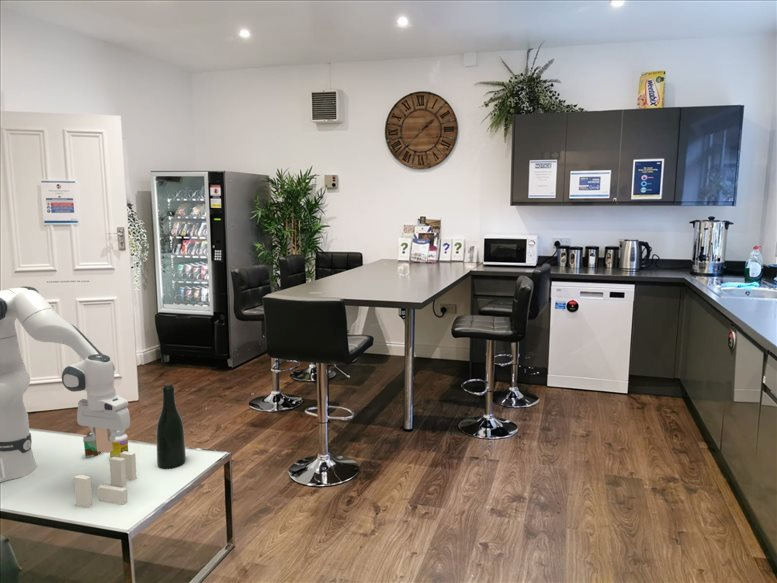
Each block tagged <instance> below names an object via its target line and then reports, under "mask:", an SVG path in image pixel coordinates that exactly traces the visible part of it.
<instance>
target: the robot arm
mask: <svg viewBox="0 0 777 583" xmlns="http://www.w3.org/2000/svg"><path fill="white" fill-rule="evenodd" d="M16 320H18V322H19V323H20V324H21V326H22V328H23V329H24V331H25V332H26V333H27V334H28V335H29V336H30V338H33V339H34V340H35V341H37V342H38V341H39V342H43V343H55V344H62V345H66V346H68V347H69V348H72V350H73V351H74V352H75V353H76V354H77V355H78V356H79V357H80V358H81V359H82V360H81V361H79V362H75V363H73V364H69V365H68V366H66V367H65V368H64V369H63V371H62V373H61V382H62V385H63V387H64V388H65V389H67V390H68V391H70V392H82V391H85V392H86V398H81V399H80V400H79V401H78V403H77V413H76V422H77V424H78V425H79V426H83V427H89V430H90V431H91V432H92V433H93V438H94V439H96V429H95V427H96V428H103V429H110V432H111V434H110V436H108V441H114V440H115V435H116V433H117V431H123V430H125V431H126V430H128V429H129V428H130V426H131V416H130V410H129V409H128V406H129V401H128V399H126V398H124V397H122V396H120V395H118V394H117V393H116V388H115V383H114V382H115V380H116V379H115V365H114V363H113V361H112V358H111V357H110V356H109V355H106V354H103V353H102V352H101V351H100V350H99V348H97V347H96V346H95V345H94V344H93V343H92V342H91V341H90V339H88V338H87V336H85V334H84V333H83V332H81V330H80V329H78V328H77V327H76V326H75V325H74V324H71V323H69V322H68V321H67V320H65V319H64V318H63V317H61V316H60V315H59V314H58V313H57V312H56V310H55V309H54V308H53V306H52V305H51V304H50V303H49V302H48V301H47V299H45V298H44V296H42V294H40V292H39V291H38V289H37V288H35V287H33V286H19V287H10V288H9V287H8V288H4V289H2V290H0V483H2V482H5V481H11V480H16V479H20V478H22V477H26V476H28V475H30V474H32V473H34V472H35V471H36V470H37V467H38V466H37V464H36V461H35V458H34V454H33V450H32V433H31V432H30V423H29V421H30V420H29V413H28V412H27V410H26V407H25V403H24V394H25V393H26V392H27V390H28V389H29V386H30V382H31V377H30V374H29V373H28V370H27V368H26V366H25V363H24V360H23V357H22V355H21V350H20V345H19V341H18V333H17V328H16V325H15V323H16Z"/></svg>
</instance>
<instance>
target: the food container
mask: <svg viewBox="0 0 777 583" xmlns="http://www.w3.org/2000/svg"><path fill="white" fill-rule="evenodd" d="M82 440H83V441H82V442H83V445H84V453H85V454H84V456H85V459H90V458H94V457H96V456H97V457H98V456H99V455H101V454H102V453H101V452H99V451H97V443H96V439H94V438H93V433H92V432H91V430H90V431H89V432H88V433H87V435H86V436H83V439H82ZM100 453H101V454H100ZM98 454H99V455H98Z"/></svg>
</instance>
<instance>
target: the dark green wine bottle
mask: <svg viewBox="0 0 777 583" xmlns="http://www.w3.org/2000/svg"><path fill="white" fill-rule="evenodd" d="M175 392H176V391H175V386H174V384H173V383H172V382H166V383H164V384H163V387H162V406H161V411H160V414H159V418H158V421H157V423H156V436H155V437H156V463H157V468H159V469H161V470H172V469H173V470H174V469H176V468H179V467H182V466H183V465H185V463H186V462H187V458H186V441H185V427H184V422H183V419H182V417H181V415H180V413H179V411H178V408H177V403H176V398H175V397H176V395H175Z"/></svg>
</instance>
